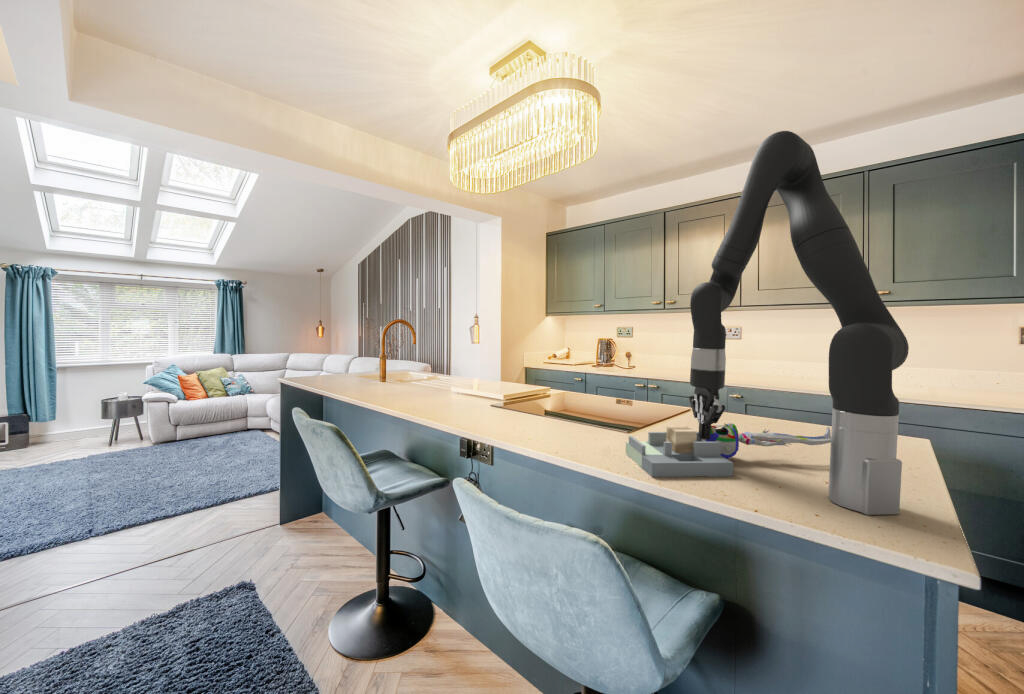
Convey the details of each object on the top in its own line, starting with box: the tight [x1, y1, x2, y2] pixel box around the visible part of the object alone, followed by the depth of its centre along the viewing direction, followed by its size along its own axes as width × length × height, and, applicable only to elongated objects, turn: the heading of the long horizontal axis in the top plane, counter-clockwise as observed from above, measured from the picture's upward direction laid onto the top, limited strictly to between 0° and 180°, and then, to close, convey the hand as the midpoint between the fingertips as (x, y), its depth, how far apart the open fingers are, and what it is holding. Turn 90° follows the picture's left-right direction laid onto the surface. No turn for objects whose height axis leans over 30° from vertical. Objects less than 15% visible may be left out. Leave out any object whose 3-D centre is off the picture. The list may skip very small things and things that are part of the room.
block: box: [665, 425, 698, 453], centre depth 100 cm, size 5×5×5 cm
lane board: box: [625, 431, 734, 478], centre depth 99 cm, size 17×18×6 cm
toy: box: [701, 422, 831, 460], centre depth 102 cm, size 10×8×30 cm
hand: (704, 438), depth 101 cm, fingers closed
